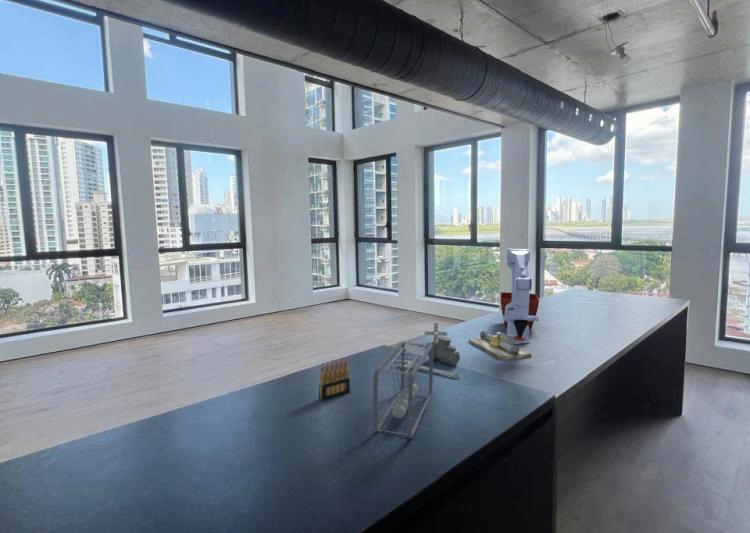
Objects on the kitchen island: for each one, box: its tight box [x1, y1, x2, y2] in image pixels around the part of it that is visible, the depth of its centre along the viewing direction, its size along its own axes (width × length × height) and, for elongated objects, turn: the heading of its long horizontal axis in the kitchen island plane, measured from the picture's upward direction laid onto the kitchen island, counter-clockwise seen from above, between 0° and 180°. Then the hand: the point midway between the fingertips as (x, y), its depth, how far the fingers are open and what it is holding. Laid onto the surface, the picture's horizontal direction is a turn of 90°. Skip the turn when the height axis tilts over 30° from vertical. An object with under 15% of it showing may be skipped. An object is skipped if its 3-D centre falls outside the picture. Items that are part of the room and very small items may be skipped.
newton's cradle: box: [372, 340, 434, 439], centre depth 118 cm, size 30×10×18 cm, turn 162°
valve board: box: [468, 337, 532, 361], centre depth 180 cm, size 15×26×2 cm, turn 16°
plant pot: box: [499, 291, 540, 330], centre depth 220 cm, size 19×19×17 cm
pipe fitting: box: [427, 335, 461, 367], centre depth 162 cm, size 12×8×10 cm
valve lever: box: [495, 331, 525, 341], centre depth 176 cm, size 13×2×1 cm, turn 46°
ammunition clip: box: [318, 356, 351, 402], centre depth 130 cm, size 11×2×12 cm, turn 128°
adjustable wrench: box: [398, 359, 461, 379], centre depth 152 cm, size 25×6×2 cm, turn 52°
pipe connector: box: [424, 321, 448, 341], centre depth 187 cm, size 10×10×10 cm
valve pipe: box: [479, 330, 520, 355], centre depth 180 cm, size 4×25×6 cm, turn 16°
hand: (519, 337), depth 171 cm, fingers closed
